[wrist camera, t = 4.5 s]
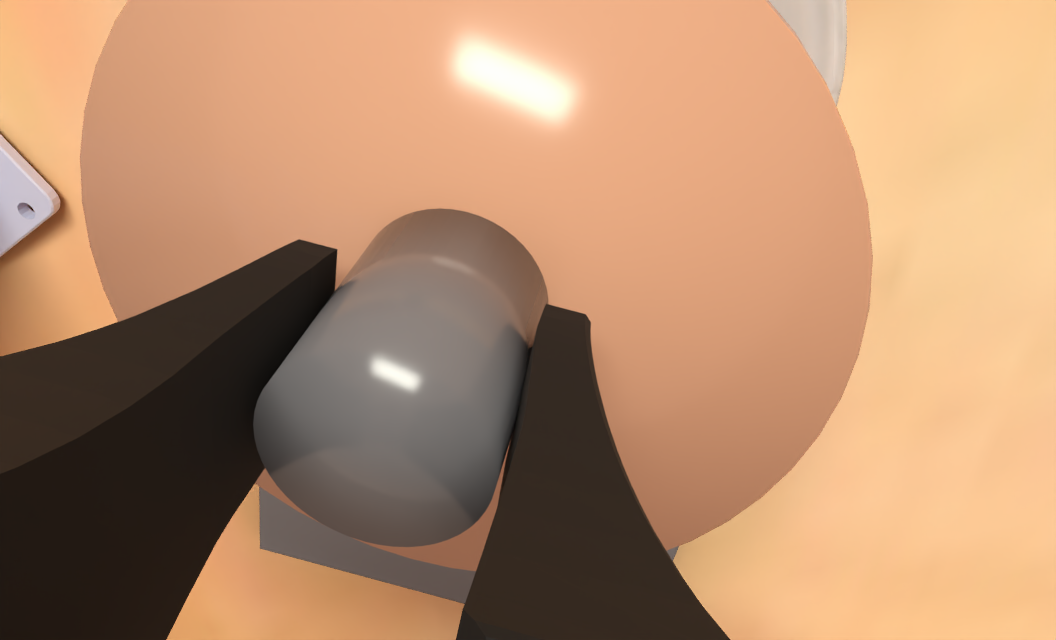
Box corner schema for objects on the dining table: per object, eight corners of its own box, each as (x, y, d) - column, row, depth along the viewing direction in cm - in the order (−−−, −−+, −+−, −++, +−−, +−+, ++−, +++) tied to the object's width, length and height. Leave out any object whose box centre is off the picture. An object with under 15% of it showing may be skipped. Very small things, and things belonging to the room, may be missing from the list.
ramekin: (363, -396, 16) (233, -444, 12) (928, -201, 16) (1002, -180, 12) (296, 139, 23) (196, 233, 18) (700, 277, 23) (695, 403, 18)
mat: (636, 640, 31) (636, 650, 31) (265, 540, 32) (260, 548, 32) (763, 330, 23) (764, 338, 23) (261, 205, 24) (255, 212, 24)
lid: (406, 617, 20) (333, 817, 16) (-41, 152, 15) (-294, 277, 11) (998, 416, 14) (1100, 651, 11) (574, -408, 10) (482, -525, 6)
